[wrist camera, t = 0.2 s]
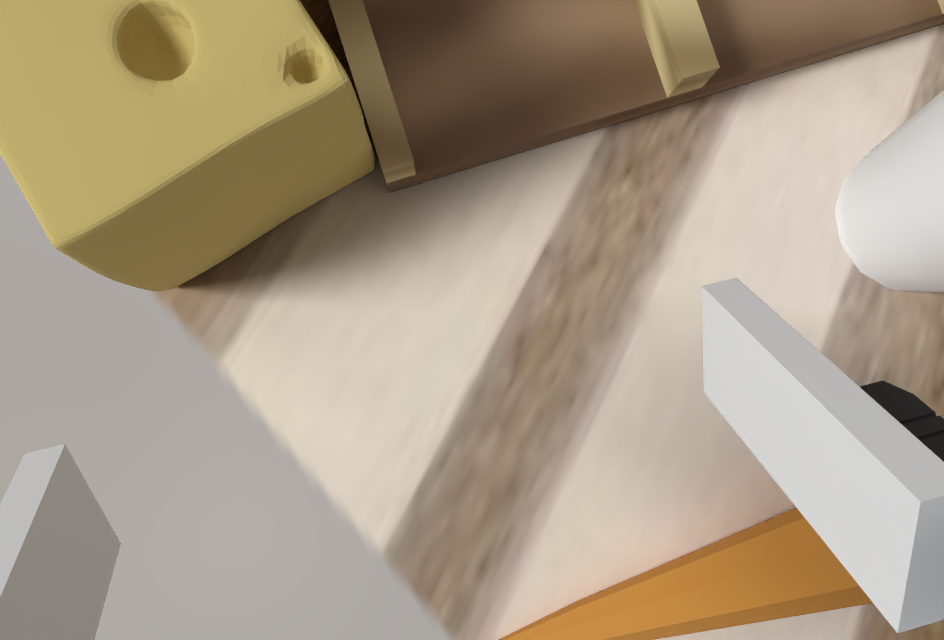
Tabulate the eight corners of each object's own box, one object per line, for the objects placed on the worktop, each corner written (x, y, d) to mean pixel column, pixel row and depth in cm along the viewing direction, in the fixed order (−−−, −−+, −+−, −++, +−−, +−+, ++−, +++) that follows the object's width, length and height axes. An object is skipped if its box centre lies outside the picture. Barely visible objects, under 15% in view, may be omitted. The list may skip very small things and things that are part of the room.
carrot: (894, 477, 33) (934, 449, 29) (950, 585, 31) (1001, 572, 27) (443, 611, 34) (419, 602, 30) (469, 725, 32) (447, 732, 28)
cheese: (261, -37, 33) (181, -221, 23) (393, 180, 32) (370, 90, 22) (39, 85, 32) (-145, -50, 22) (170, 309, 31) (43, 277, 21)
